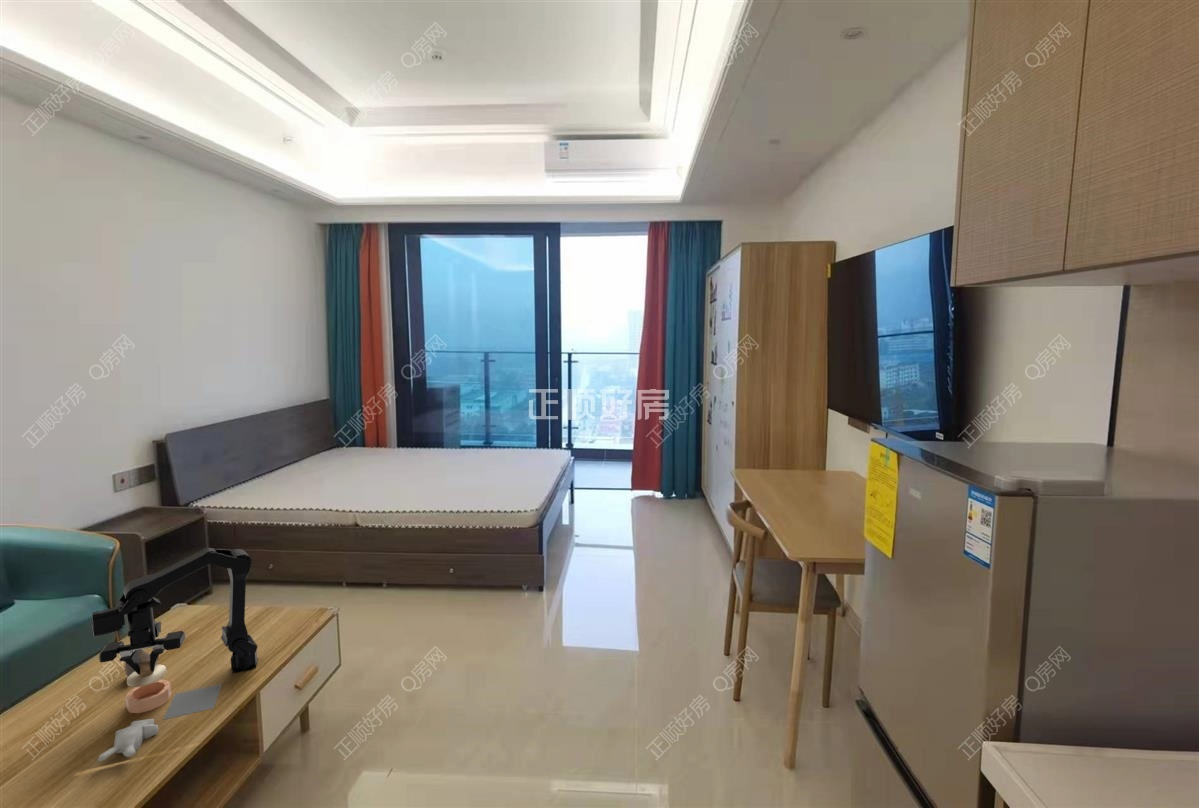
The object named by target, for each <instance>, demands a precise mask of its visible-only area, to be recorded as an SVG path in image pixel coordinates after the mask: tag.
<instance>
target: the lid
mask: <svg viewBox="0 0 1199 808" xmlns="http://www.w3.org/2000/svg"><path fill="white" fill-rule="evenodd" d="M139 667H140V675H138V674H137V673H136V672H133V673H132V674H131V675H129V676H127V678H126V684H127V686H129V687H131V688H135V687H141V686H145V685H148V684H151V683H153V682H156V681H157V680H162V678H163V677H164V676H166V674H167V666H165V665H163V664H156V667H155V670H154V672H152V671H151V663H150V659H144V660H142V661H140V662H139Z"/></svg>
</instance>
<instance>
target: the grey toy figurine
mask: <svg viewBox="0 0 1199 808" xmlns="http://www.w3.org/2000/svg"><path fill="white" fill-rule="evenodd" d="M158 733H159V725H158V724H155V718H147V719H141V720H134V721H132V722H131V723H130V725H129V726H127V727H125V728H122V729H119V730H116V731H115V735H114V736H115V738H114V743H113V747H111V748H108V750H106V751H104V752H102V753H101V754H100V755H99V756H98V758H97V762H102V761H105V760H106V759H108V758H109V757H110V756H112V755H113V754H114V753H115V754H123V756H124V757H126V758H130V757H133V756H134V755H136V754H137V751H138V750H139V748H140V747H141V746H142V744H143V741H144V740H146V739H149V738H151V737H154V736H156V735H158Z"/></svg>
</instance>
